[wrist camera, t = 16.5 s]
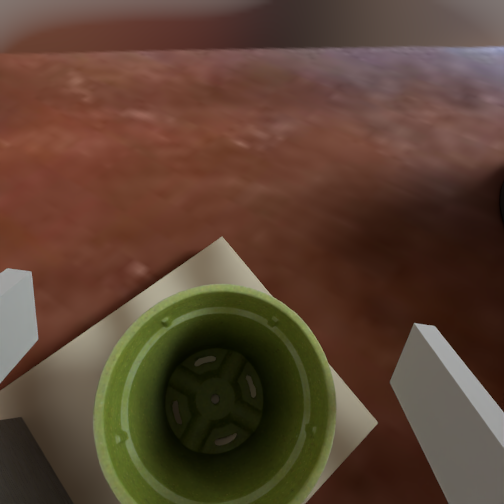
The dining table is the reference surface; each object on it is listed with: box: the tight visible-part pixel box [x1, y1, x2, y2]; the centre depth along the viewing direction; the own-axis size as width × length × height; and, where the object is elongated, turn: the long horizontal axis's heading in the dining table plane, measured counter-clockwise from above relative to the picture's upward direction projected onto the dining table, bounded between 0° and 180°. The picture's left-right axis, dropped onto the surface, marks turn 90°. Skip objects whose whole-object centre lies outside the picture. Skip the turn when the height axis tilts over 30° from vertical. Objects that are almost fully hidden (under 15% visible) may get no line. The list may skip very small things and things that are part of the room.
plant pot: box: [93, 284, 336, 504], centre depth 18 cm, size 9×9×9 cm
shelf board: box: [0, 237, 378, 504], centre depth 22 cm, size 18×16×2 cm
